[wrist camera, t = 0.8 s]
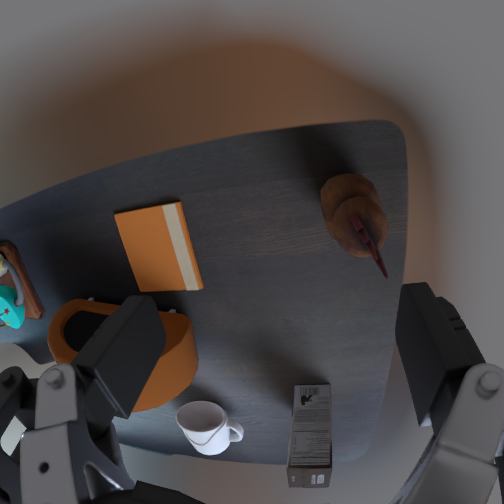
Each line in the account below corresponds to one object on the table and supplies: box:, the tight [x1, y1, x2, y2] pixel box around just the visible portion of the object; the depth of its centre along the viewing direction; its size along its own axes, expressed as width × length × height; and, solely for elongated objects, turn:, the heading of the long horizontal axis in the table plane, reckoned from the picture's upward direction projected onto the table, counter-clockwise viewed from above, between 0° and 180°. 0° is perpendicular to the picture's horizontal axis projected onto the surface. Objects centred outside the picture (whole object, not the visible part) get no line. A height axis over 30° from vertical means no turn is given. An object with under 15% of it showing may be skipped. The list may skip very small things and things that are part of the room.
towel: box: [114, 201, 204, 292], centre depth 38 cm, size 12×10×1 cm
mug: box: [176, 401, 244, 455], centre depth 50 cm, size 12×9×8 cm
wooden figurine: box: [321, 173, 388, 279], centre depth 25 cm, size 7×6×15 cm
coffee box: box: [287, 384, 332, 488], centre depth 40 cm, size 9×6×16 cm
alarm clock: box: [47, 298, 199, 412], centre depth 38 cm, size 23×9×17 cm, turn 91°
